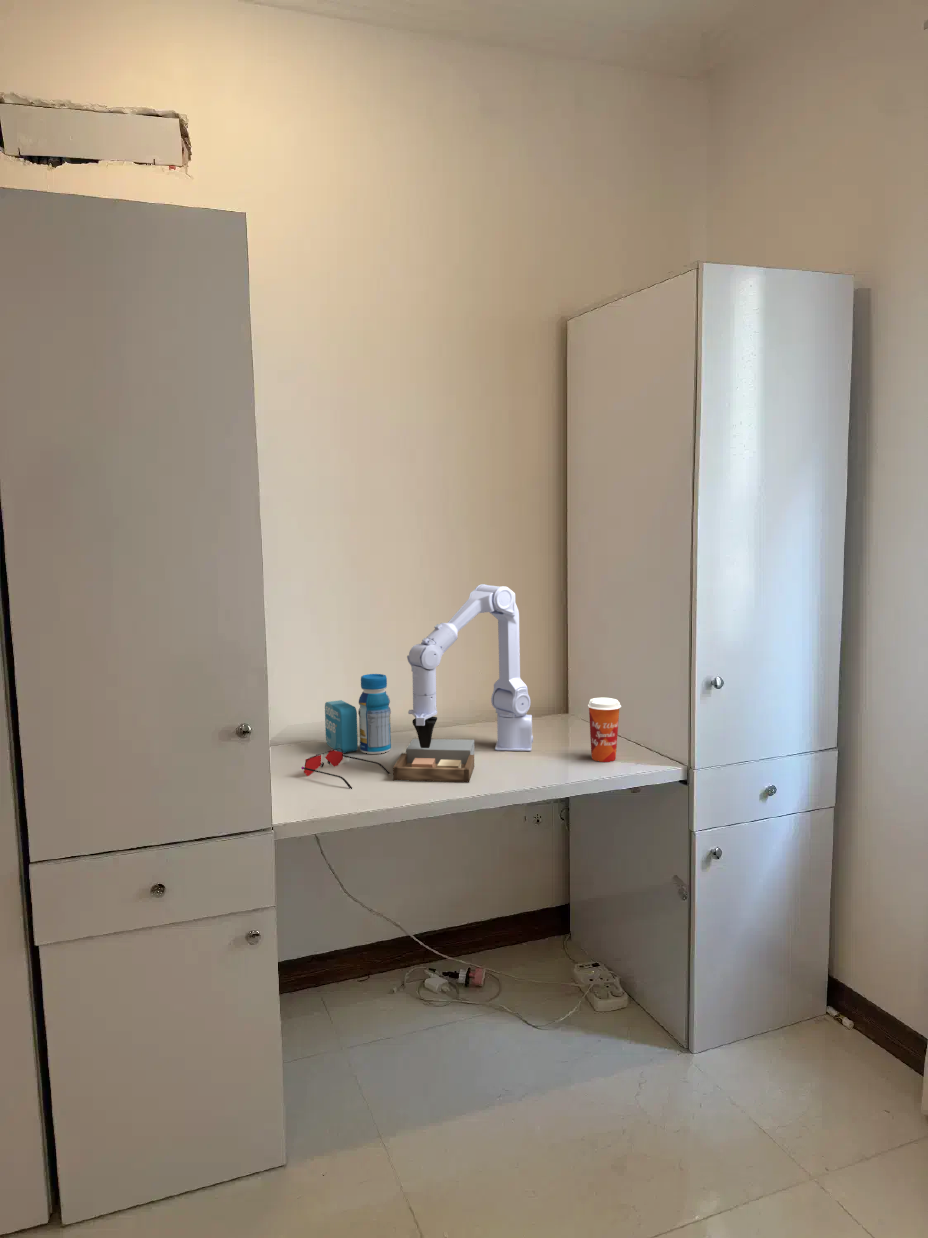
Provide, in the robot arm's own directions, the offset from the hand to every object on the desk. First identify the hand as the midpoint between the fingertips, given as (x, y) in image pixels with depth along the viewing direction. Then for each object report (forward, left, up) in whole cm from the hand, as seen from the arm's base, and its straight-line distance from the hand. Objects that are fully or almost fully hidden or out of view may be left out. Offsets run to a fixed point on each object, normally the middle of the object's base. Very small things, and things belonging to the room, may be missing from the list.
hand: (425, 747), depth 216 cm
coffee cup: (-44, -10, -5) cm, 45 cm away
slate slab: (-3, -6, -5) cm, 8 cm away
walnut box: (-3, +5, -5) cm, 8 cm away
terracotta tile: (0, +4, -2) cm, 5 cm away
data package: (+25, -15, -5) cm, 29 cm away
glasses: (+18, +8, -6) cm, 21 cm away
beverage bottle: (+15, -13, -5) cm, 21 cm away
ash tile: (-7, +5, -2) cm, 9 cm away
